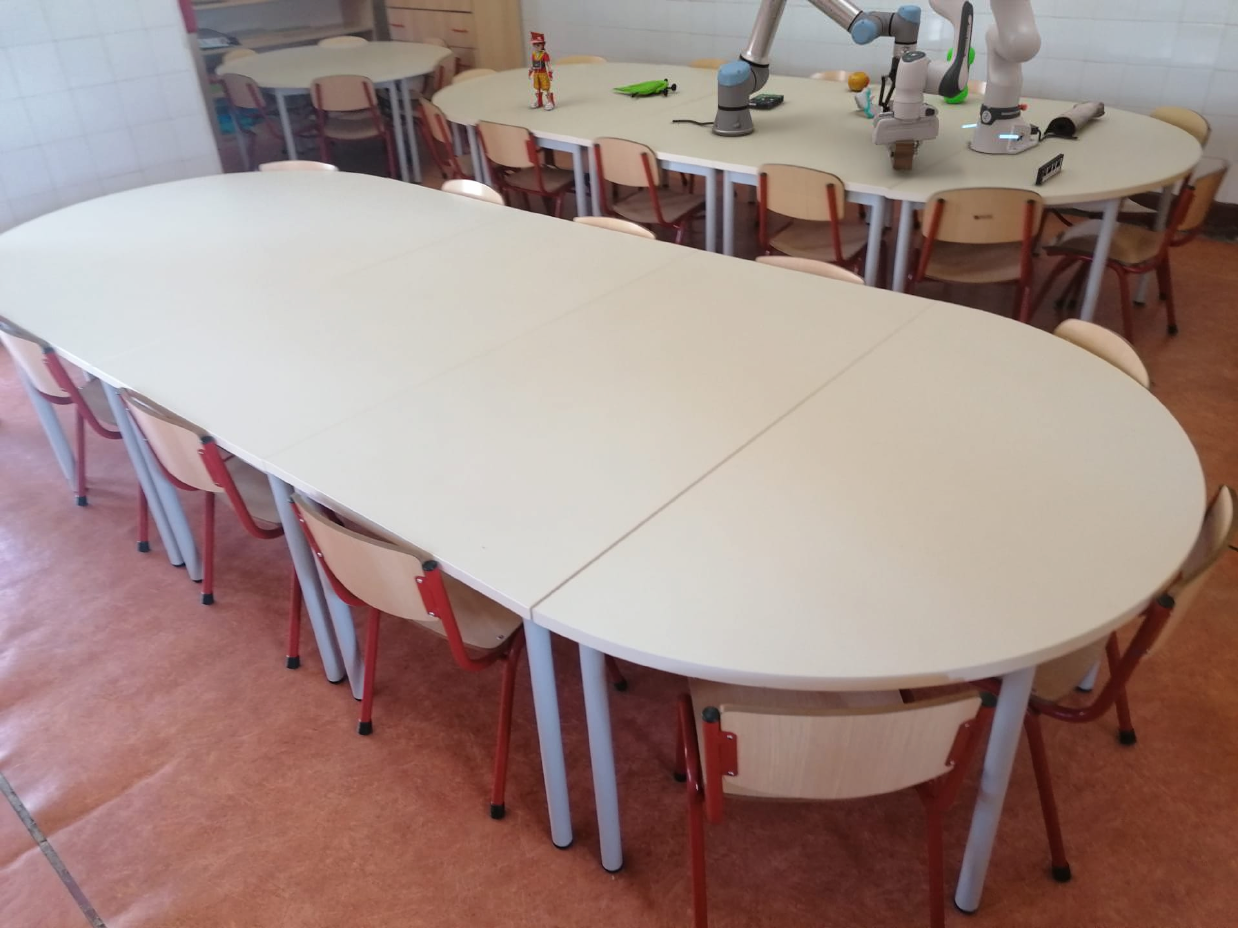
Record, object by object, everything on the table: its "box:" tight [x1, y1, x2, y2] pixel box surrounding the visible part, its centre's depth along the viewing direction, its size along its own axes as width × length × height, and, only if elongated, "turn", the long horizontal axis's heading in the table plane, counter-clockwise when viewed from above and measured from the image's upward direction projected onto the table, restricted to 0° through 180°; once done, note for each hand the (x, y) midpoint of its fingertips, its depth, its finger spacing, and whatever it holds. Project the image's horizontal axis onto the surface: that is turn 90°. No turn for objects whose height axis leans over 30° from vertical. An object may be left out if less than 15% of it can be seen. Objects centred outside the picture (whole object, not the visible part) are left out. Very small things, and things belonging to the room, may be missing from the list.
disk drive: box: [749, 93, 785, 110], centre depth 365 cm, size 10×3×15 cm
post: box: [887, 99, 916, 171], centre depth 300 cm, size 54×6×8 cm, turn 169°
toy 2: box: [612, 78, 677, 99], centre depth 396 cm, size 28×5×30 cm
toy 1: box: [527, 31, 556, 111], centre depth 374 cm, size 12×9×30 cm
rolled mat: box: [1043, 100, 1106, 137], centre depth 316 cm, size 30×9×10 cm
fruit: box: [847, 71, 870, 92], centre depth 377 cm, size 8×8×8 cm
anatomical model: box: [853, 87, 883, 119], centre depth 345 cm, size 15×10×10 cm
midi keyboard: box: [1035, 153, 1065, 186], centre depth 273 cm, size 18×1×5 cm, turn 138°
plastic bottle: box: [943, 45, 976, 104], centre depth 348 cm, size 10×10×25 cm
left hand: (894, 126), depth 319 cm, fingers closed on post, 6 cm apart
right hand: (902, 155), depth 283 cm, fingers closed on post, 6 cm apart
